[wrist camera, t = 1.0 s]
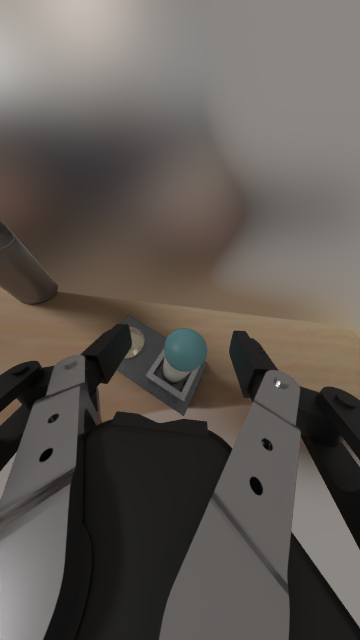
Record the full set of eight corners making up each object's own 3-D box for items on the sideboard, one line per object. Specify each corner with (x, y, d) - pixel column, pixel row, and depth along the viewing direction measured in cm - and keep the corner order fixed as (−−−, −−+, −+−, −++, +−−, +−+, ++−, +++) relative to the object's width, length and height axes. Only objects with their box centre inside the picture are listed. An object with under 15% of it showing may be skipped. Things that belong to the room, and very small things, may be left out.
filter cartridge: (156, 376, 29) (155, 354, 16) (169, 355, 32) (178, 321, 19) (177, 390, 28) (195, 379, 15) (189, 367, 31) (213, 341, 18)
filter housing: (94, 354, 31) (82, 346, 27) (129, 318, 37) (125, 306, 33) (182, 415, 28) (187, 418, 23) (205, 364, 34) (213, 358, 29)
